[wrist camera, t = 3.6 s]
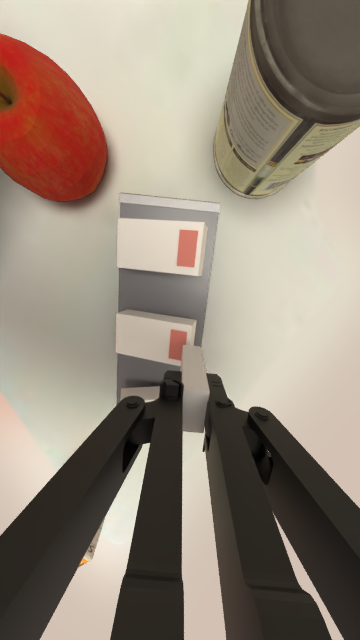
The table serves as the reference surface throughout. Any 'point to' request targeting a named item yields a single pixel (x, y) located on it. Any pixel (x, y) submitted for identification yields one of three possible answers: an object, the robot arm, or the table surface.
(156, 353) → the rocker
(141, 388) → the rocker
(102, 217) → the table surface
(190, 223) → the block
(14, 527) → the robot arm
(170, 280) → the rocker switch panel
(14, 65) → the apple
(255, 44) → the coffee can
